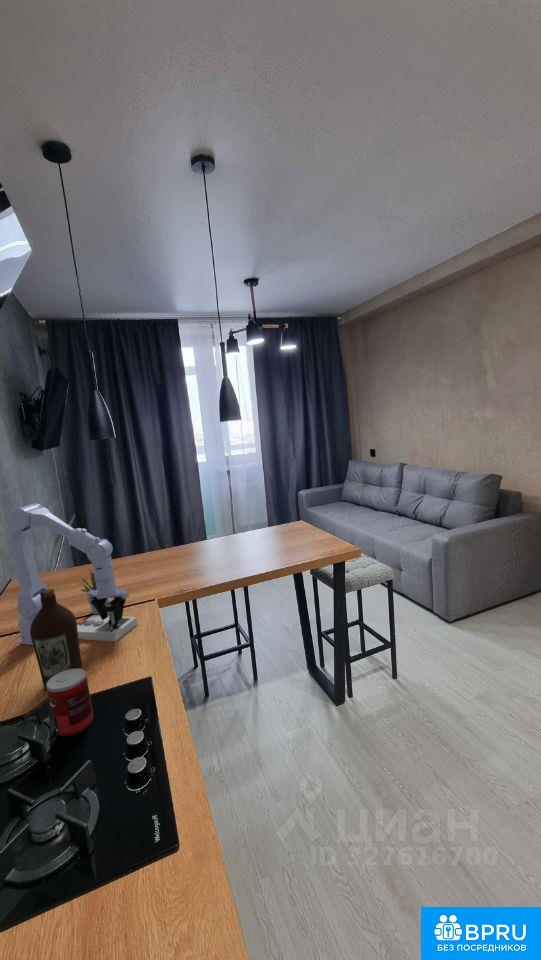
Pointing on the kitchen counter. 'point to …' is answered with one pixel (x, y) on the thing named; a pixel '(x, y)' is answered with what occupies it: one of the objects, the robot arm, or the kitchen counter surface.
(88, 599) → the house plant
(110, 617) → the push button
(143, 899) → the kitchen counter surface
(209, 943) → the kitchen counter surface
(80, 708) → the canned food
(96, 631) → the control panel
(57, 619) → the olive oil
